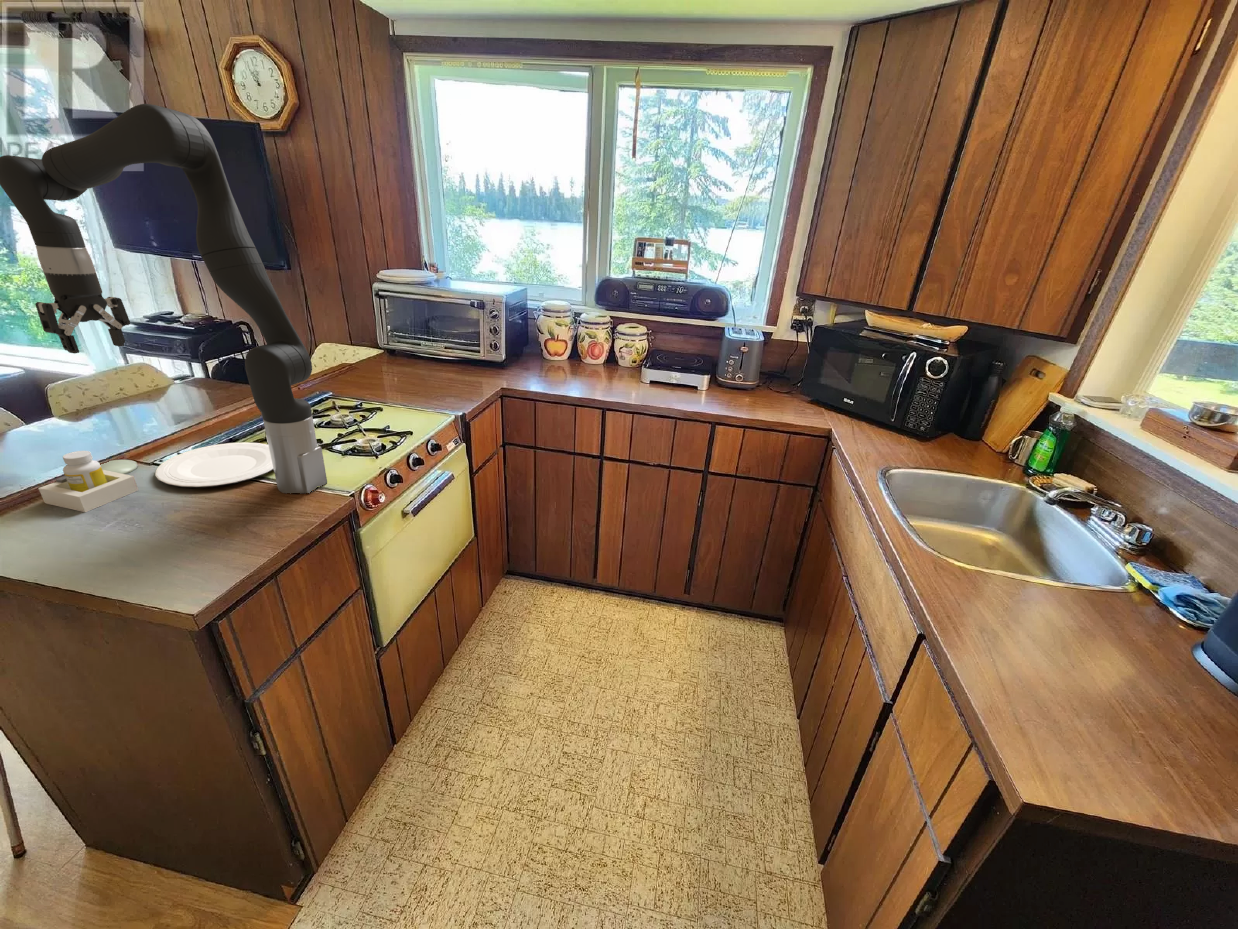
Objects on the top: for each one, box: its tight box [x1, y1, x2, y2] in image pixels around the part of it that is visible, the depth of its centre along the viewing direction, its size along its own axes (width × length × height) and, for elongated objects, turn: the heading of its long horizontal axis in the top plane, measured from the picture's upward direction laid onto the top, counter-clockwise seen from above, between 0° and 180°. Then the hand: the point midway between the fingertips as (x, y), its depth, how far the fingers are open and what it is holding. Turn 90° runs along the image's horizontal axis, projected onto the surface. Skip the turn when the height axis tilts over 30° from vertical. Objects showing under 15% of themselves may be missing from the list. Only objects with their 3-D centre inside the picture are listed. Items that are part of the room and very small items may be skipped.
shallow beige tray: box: [38, 470, 139, 513], centre depth 104 cm, size 10×10×4 cm
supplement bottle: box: [62, 450, 107, 492], centre depth 102 cm, size 5×5×10 cm
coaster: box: [101, 459, 138, 475], centre depth 115 cm, size 9×9×1 cm
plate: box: [154, 441, 274, 488], centre depth 121 cm, size 25×25×2 cm
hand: (97, 349), depth 109 cm, fingers open, 8 cm apart
